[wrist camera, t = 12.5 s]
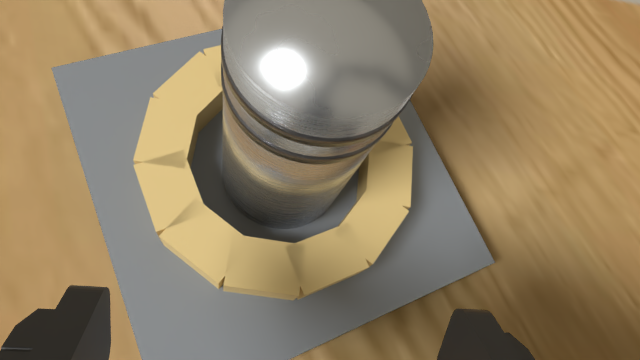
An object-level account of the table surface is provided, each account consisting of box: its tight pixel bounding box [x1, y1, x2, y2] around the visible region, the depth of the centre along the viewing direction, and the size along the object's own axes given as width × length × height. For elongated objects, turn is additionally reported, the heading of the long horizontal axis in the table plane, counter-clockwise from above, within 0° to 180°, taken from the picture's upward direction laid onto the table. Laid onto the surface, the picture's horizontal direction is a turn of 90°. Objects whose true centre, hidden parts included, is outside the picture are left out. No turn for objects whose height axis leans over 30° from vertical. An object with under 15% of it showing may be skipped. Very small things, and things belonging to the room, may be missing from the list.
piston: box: [221, 0, 433, 229], centre depth 15 cm, size 5×5×10 cm
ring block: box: [52, 29, 495, 360], centre depth 19 cm, size 14×14×2 cm
